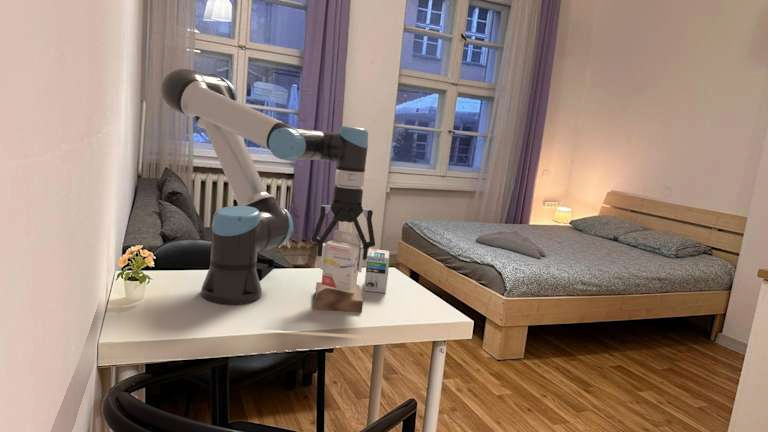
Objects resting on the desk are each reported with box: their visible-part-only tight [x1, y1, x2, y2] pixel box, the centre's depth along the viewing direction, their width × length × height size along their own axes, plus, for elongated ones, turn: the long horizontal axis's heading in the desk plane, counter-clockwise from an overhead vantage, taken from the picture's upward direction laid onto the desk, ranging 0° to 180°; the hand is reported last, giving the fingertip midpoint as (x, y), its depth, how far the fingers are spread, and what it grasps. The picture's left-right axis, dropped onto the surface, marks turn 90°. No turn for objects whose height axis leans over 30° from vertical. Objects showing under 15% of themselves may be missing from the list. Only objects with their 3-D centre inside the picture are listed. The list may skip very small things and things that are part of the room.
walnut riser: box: [314, 281, 364, 313], centre depth 141 cm, size 12×14×3 cm
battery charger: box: [256, 256, 275, 281], centre depth 159 cm, size 13×10×4 cm
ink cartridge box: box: [321, 229, 362, 291], centre depth 140 cm, size 9×5×15 cm, turn 71°
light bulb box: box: [363, 248, 390, 294], centre depth 158 cm, size 11×7×11 cm, turn 179°
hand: (340, 269), depth 140 cm, fingers closed on ink cartridge box, 9 cm apart
